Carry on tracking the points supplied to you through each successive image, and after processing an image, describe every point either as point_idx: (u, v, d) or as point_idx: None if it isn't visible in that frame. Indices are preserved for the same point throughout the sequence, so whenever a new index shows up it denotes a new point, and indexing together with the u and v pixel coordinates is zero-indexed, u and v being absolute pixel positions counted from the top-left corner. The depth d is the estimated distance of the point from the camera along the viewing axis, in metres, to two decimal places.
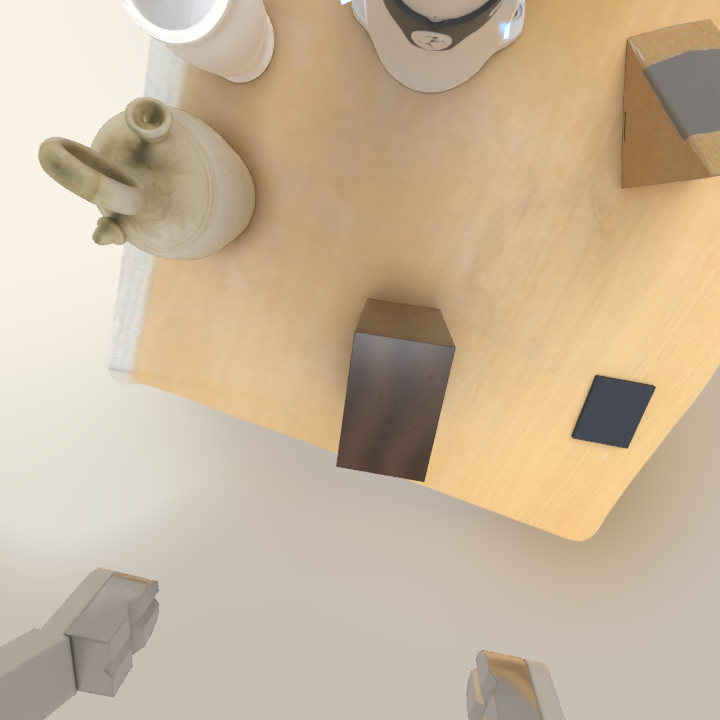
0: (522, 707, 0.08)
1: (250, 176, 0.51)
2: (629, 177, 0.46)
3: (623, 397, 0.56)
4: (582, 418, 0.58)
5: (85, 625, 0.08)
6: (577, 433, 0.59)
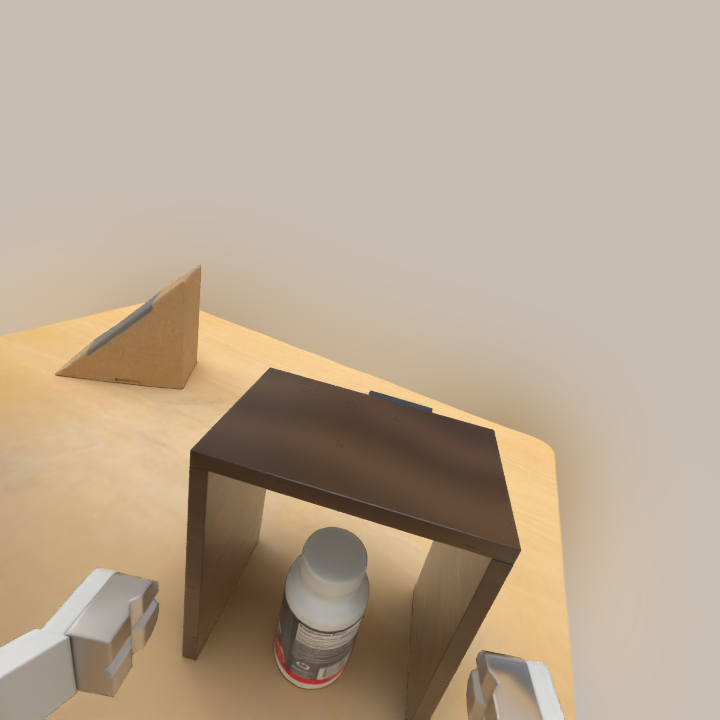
0: (522, 707, 0.08)
1: None
2: (173, 377, 0.52)
3: None
4: None
5: (85, 625, 0.08)
6: None
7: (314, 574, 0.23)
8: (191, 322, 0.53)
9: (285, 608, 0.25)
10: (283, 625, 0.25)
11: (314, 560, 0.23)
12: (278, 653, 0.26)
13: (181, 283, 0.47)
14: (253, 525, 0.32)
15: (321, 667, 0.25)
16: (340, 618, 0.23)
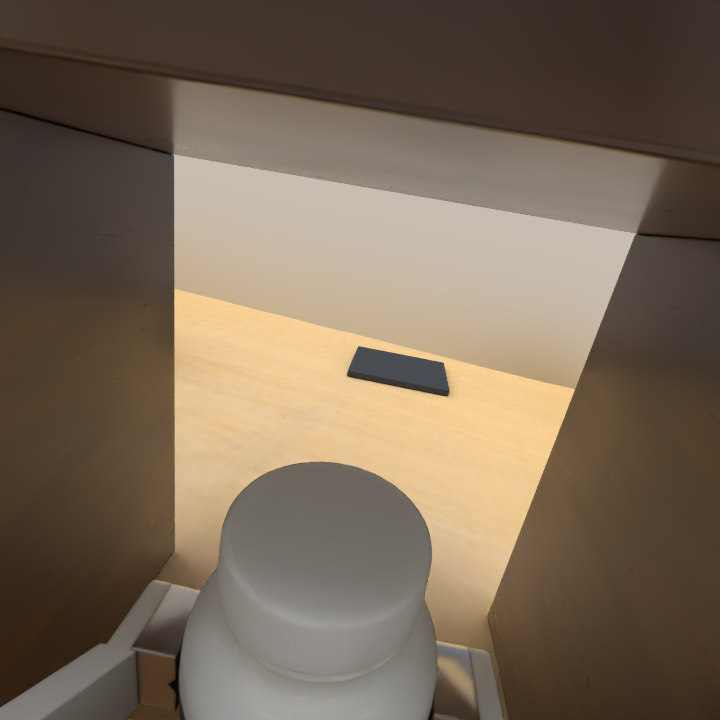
0: (459, 693, 0.08)
1: None
2: None
3: (375, 360, 0.43)
4: (414, 382, 0.39)
5: (150, 639, 0.08)
6: (439, 387, 0.39)
7: (257, 599, 0.06)
8: None
9: None
10: None
11: (259, 549, 0.07)
12: None
13: None
14: (145, 511, 0.15)
15: None
16: None
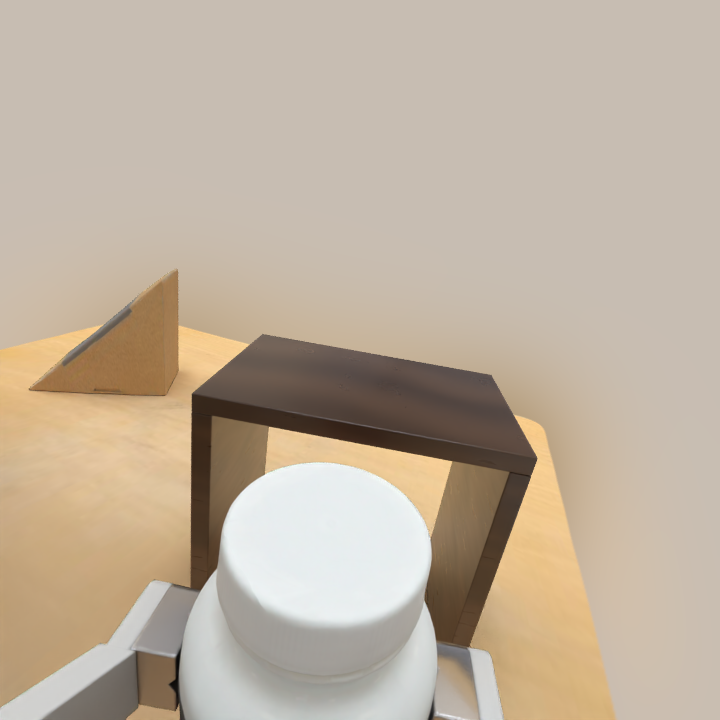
0: (459, 693, 0.08)
1: None
2: (156, 383, 0.51)
3: None
4: None
5: (151, 639, 0.08)
6: None
7: (257, 600, 0.06)
8: (171, 326, 0.52)
9: None
10: None
11: (259, 550, 0.07)
12: None
13: (159, 283, 0.46)
14: None
15: None
16: None
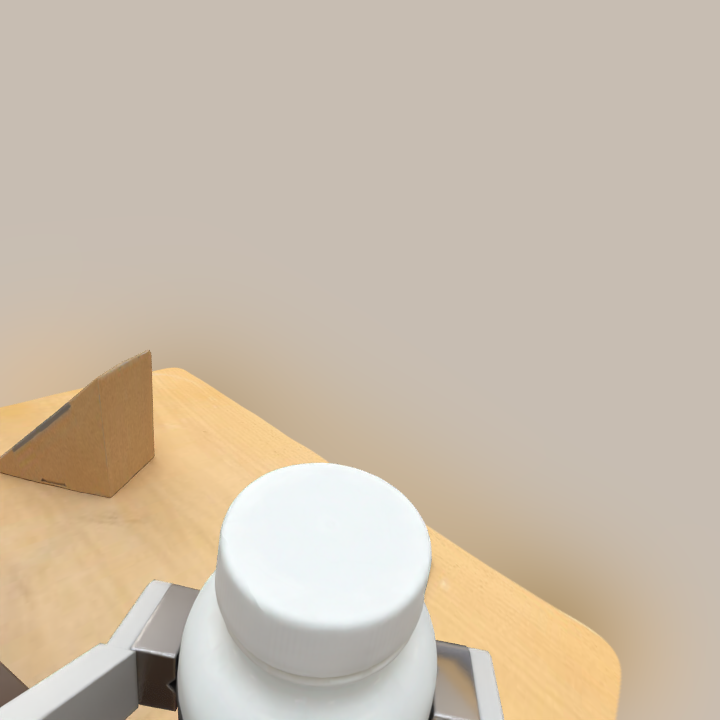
0: (459, 693, 0.08)
1: None
2: (100, 484, 0.44)
3: None
4: None
5: (150, 639, 0.08)
6: None
7: (255, 601, 0.06)
8: (129, 418, 0.45)
9: None
10: None
11: (258, 551, 0.07)
12: None
13: (95, 380, 0.39)
14: None
15: None
16: None
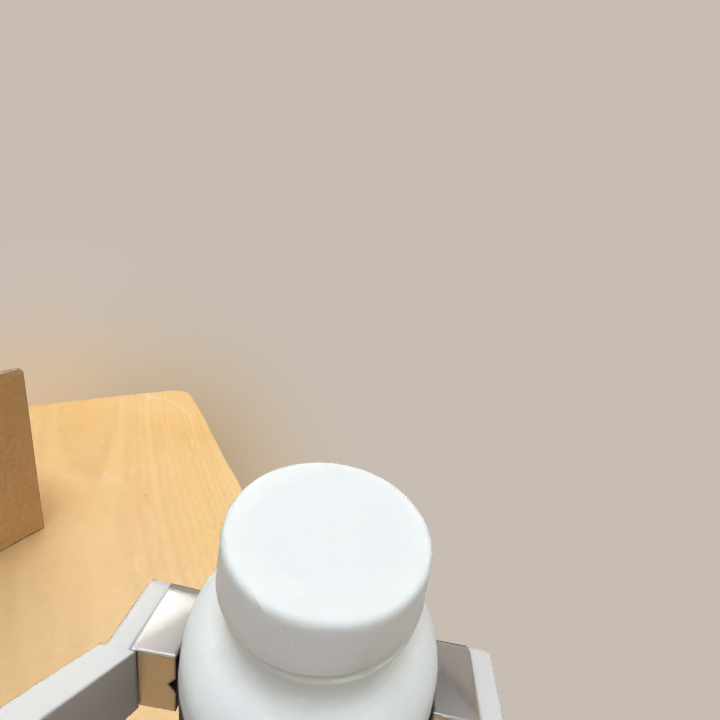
0: (459, 693, 0.08)
1: None
2: None
3: None
4: None
5: (150, 639, 0.08)
6: None
7: (257, 600, 0.06)
8: None
9: None
10: None
11: (258, 550, 0.07)
12: None
13: None
14: None
15: None
16: None
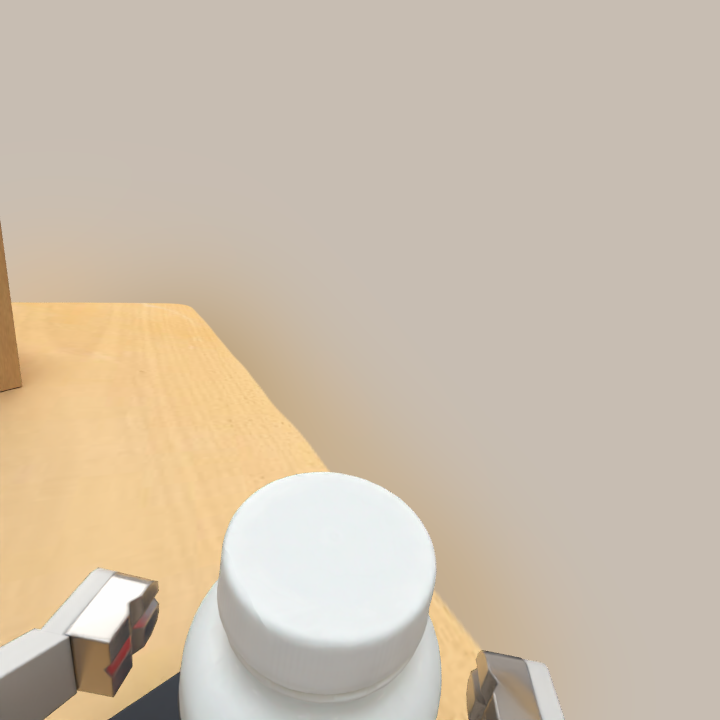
0: (522, 707, 0.08)
1: None
2: None
3: None
4: None
5: (85, 625, 0.08)
6: None
7: (258, 618, 0.06)
8: None
9: None
10: None
11: (260, 565, 0.07)
12: None
13: None
14: None
15: None
16: None
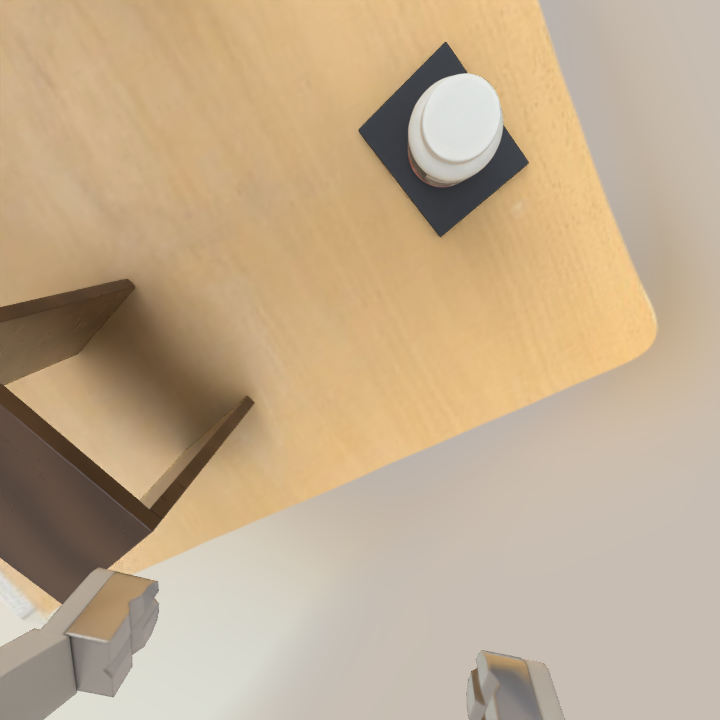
0: (522, 707, 0.08)
1: None
2: None
3: None
4: (416, 200, 0.31)
5: (85, 625, 0.08)
6: (437, 224, 0.31)
7: (437, 154, 0.21)
8: None
9: (412, 156, 0.25)
10: (413, 162, 0.26)
11: (436, 135, 0.21)
12: (413, 168, 0.29)
13: None
14: (91, 310, 0.33)
15: (452, 184, 0.28)
16: (468, 173, 0.23)
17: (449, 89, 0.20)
